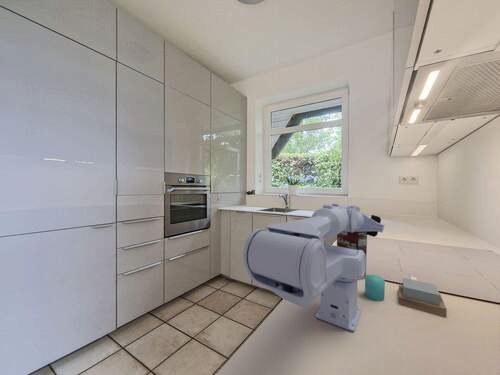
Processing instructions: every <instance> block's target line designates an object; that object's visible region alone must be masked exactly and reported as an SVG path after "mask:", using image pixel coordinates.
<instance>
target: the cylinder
mask: <svg viewBox="0 0 500 375" xmlns="http://www.w3.org/2000/svg"><path fill="white" fill-rule="evenodd" d="M385 285H386V281H385V278H383V277H381V276H378V275H374V274H366V276H365V278H364V296H365V297H366V298H368V299H369V300H372V301H376V302H382V301H385Z"/></svg>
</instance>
